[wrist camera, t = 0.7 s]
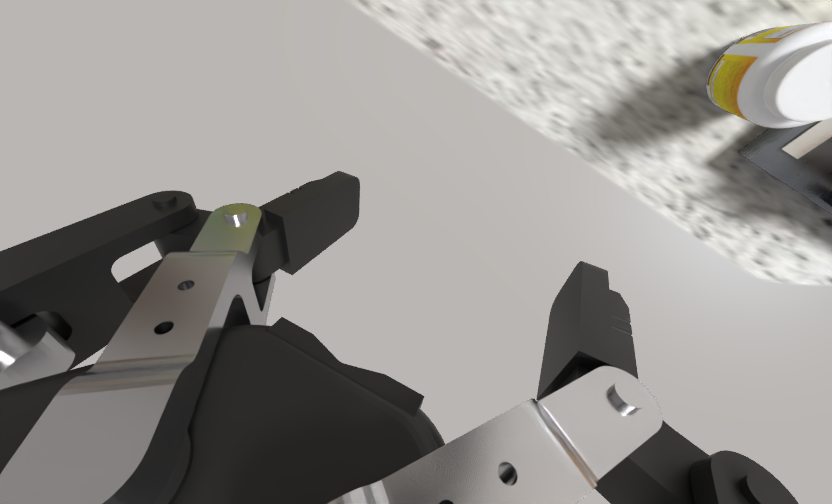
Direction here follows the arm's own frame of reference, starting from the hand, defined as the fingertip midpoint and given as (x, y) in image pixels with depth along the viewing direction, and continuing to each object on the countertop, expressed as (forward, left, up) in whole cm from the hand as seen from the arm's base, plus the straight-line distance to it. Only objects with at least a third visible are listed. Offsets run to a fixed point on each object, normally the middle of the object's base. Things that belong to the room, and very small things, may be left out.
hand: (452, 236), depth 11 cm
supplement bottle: (-10, +12, -28) cm, 32 cm away
